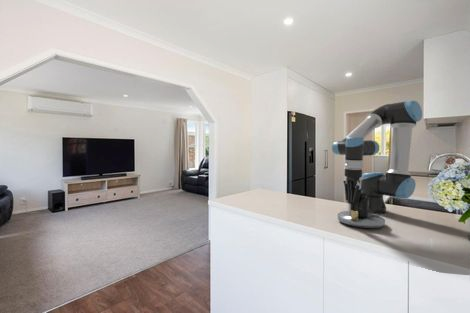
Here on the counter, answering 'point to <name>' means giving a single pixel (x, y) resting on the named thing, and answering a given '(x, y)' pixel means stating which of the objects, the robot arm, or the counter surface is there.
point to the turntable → (361, 220)
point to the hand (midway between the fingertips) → (351, 216)
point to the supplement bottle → (362, 206)
